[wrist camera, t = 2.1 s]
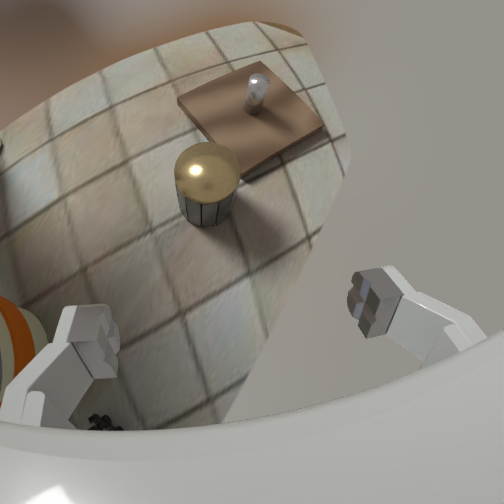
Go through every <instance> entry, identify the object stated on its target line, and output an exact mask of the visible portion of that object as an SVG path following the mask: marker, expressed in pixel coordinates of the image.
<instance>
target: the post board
mask: <svg viewBox="0 0 504 504" xmlns="http://www.w3.org/2000/svg"><path fill="white" fill-rule="evenodd" d="M253 74H263V75H265V76H267V77H268V78H269V80H270V84H269V87H268V90H267V93H266V97H265V100H264V103H263V106H262V109H261V112H260V113H259V114H257V115H250V114H247V113H246V112H245V111H244V110H243V104H244V100H245V95H246V91H247V87H248V82H249V78H250V76H251V75H253ZM177 103H178V105H179V107H180V108H181V109H182V110H183V111H184V112H185V113H186V115H187V116H188V117H189V118H190V119H191V120H192V122H193V123H194V124H195V125H196V126H197V127H198V129H199V130H200V131H201V132H202V133H203V134H204V136H205V137H206V138H207V139H208V140H209V142H211V143H217V144H220V145H223V146H225V147H226V148H228V149H229V150H230V151H232V152H233V153H234V155H235V156H236V158H237V159H238V162H239V165H240V179H241V178H243V177H244V176H246V175H247V174H249V173H251V172H252V171H254V170H255V169H257V168H258V167H260V166H262V165H263V164H265V163H267V162H268V161H270V160H271V159H273V158H275V157H276V156H278V155H280V154H281V153H283V152H285V151H286V150H288V149H290V148H291V147H293V146H295V145H296V144H298V143H300V142H301V141H303V140H305V139H306V138H308V137H310V136H312V135H313V134H315V133H317V132H319V131H320V130H322V128H323V126H324V125H325V124H324V123H323V122H322V120H321V119H320V118H319V117H318V116H317V115H316V114H315V113H314V112H313V111H312V110H311V109H310V108H309V107H308V106H307V105H306V104H305V103H304V102H303V101H302V100H301V99H300V98H299V97H298V96H297V95H296V94H295V93H294V92H293V91H292V90H291V89H290V88H289V87H288V86H287V85H286V84H285V83H284V82H283V81H282V80H281V79H280V78H279V77H277V76H276V75H275V74H274V73H273V72H272V71H271V70H270V69H269V68H268V67H267V66H265V65H264V64H263V63H262V62H261V61H258V62H255V63H253V64H250V65H248V66H245V67H243V68H240V69H238V70H235V71H233V72H231V73H228V74H226V75H224V76H221V77H219V78H217V79H215V80H212V81H210V82H208V83H206V84H204V85H202V86H199V87H197V88H195V89H193V90H191V91H189V92H187V93H185V94H183V95H181V96H179V97H177Z"/></svg>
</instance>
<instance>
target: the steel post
mask: <svg viewBox="0 0 504 504" xmlns="http://www.w3.org/2000/svg"><path fill="white" fill-rule="evenodd" d="M269 84H270V80H269V78H268V77H267V76H265V75H263V74H253V75H251V76H250V78H249V82H248V87H247V91H246V95H245V100H244V104H243V110H244V111H245V112H246V113H247V114H250V115H257V114H259V113H260V112H261V109H262V106H263V103H264V100H265V97H266V93H267V90H268V87H269Z"/></svg>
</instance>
